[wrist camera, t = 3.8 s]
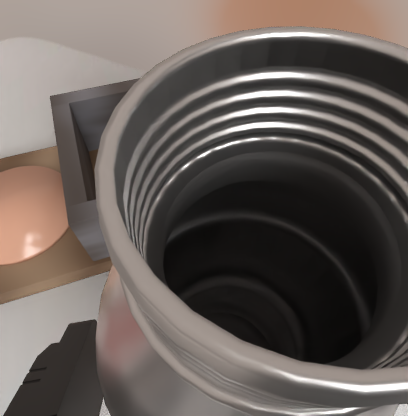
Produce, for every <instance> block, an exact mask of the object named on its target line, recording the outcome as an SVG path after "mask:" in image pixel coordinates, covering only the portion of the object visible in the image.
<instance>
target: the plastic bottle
mask: <svg viewBox="0 0 408 416" xmlns="http://www.w3.org/2000/svg"><path fill="white" fill-rule="evenodd" d="M94 171H95V188H96V205H97V210H98V213H99V224H100V227H101V230H102V233H103V236H104V239H105V243H106V246H107V249H108V252H109V255H110V258H111V261H112V264H113V265H112V267H111V269H110V272H109V275H108V278H107V281H106V284H105V287H104V290H103V292H102V295H101V301H100V308H99V315H98V322H97V329H96V338H95V339H96V361H97V373H98V377H99V381H100V385H101V389H102V393H103V397H104V401H105V405H106V407H107V409H108V411H109V413H110V415H111V416H394V414H395V412H396V410H397V408H398V406H399V404H407V403H408V48H405V47H403V46H400V45H398V44H395V43H391V42H388V41H384V40H381V39H377V38H374V37H371V36H367V35H362V34H357V33H352V32H347V31H341V30H336V29H327V28H314V27H302V26H300V27H299V26H298V27H267V28H259V29H251V30H245V31H238V32H234V33H230V34H226V35H222V36H218V37H214V38H211V39H208V40H205V41H203V42H200V43H198V44H195V45H193V46H190V47H188V48H185V49H183V50H181V51H180V52H178V53H176V54H174V55H173V56H171V57H169V58H167V59H166V60H164V61H162V62H161V63H159V64H157V65H156V66H155V67H153V68H152V69H151V70H150V71H149V72H147V73H146V74H145V75H144V76H143V77H142V78H140V79H139V80H138V81H137V82H136V83H134V84H133V86H132V87H131V88H130V89H129V91H128V92H127V93H126V94H125V96H124V97H123V98H122V99H121V101H120V102H119V103H118V104H117V106H116V107H115V109H114V111H113V113H112V115H111V117H110V119H109V121H108V123H107V125H106V127H105V129H104V131H103V133H102V136H101V140H100V144H99V149H98V154H97V159H96V164H95V169H94Z"/></svg>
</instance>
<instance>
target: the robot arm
mask: <svg viewBox="0 0 408 416" xmlns="http://www.w3.org/2000/svg"><path fill="white" fill-rule="evenodd" d="M96 329H97V321H96V320H89V321H83V322H76V323H71V324H69V325H68V327H67V329H66V331H65V333H64V335H63V337H62V339H61V341H60V342H59V343H53V344H51V345H49V346H48V347H47V348H46V349H45V350H44V351H43V352H42V353H41V354H40V355H38V356H37V358H36V360H35V362H34V363H33V365H32V367H31V368H30V370H29V371H30V372H29V373H28V374H27V375H26V377H25V379H24V381H23V385H21V386H20V387H19V389H18V391H17V393H16V394H15V396H14V398H13V400H12V401H11V403H10V405H9V406H8V408H7V410H6V412H5V413H4V415H3V416H99V413H100V409H101V405H102V400H103V393H102V389H101V385H100V381H99V377H98V373H97V361H96V339H95V338H96ZM407 404H408V403H407Z"/></svg>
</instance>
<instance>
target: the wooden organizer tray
mask: <svg viewBox="0 0 408 416" xmlns="http://www.w3.org/2000/svg"><path fill="white" fill-rule="evenodd" d="M139 79H140V78H139ZM139 79H134V80H129V81H124V82H119V83H114V84H109V85H104V86H99V87H94V88H89V89H84V90H79V91H74V92H69V93H64V94H59V95H54V96H50V100H51V107H52V114H53V121H54V128H55V135H56V142H57V146H54V147H50V148H45V149H41V150H37V151H32V152H28V153H24V154H19V155H15V156H10V157H6V158H2V159H0V172H3V171H5V170H8V169H12V168H16V167H21V166H42V167H47V168H50V169H53V170H55V171H57V172H59V173H61V177H62V184H63V191H64V198H65V205H66V212H67V219H68V225H69V226H70V227H69V229H68V230H67V232H66V233H65V234H64V236H63V237H62V238H61V239H60V240H59V241H58V242H57V243H56V244H55V245H53V246H52V247H51V248H49V249H48V250H47V251H45V252H44V253H42V254H40V255H38V256H37V257H34V258H32V259H30V260H27V261H24V262H21V263H17V264H13V265H5V266H0V304H3V303H7V302H10V301H13V300H16V299H19V298H23V297H26V296H29V295H32V294H36V293H39V292H42V291H45V290H49V289H52V288H55V287H58V286H61V285H65V284H68V283H71V282H74V281H78V280H81V279H84V278H87V277H91V276H94V275H97V274H100V273H103V272H107V271H110V269H111V267H112V265H113V264H112V261H111V258H110V255H109V252H108V249H107V246H106V243H105V239H104V236H103V233H102V230H101V227H100V224H99V213H98V210H97V205H96V188H95V171H94V169H95V164H96V159H97V154H98V149H99V144H100V140H101V136H102V133H103V131H104V129H105V127H106V125H107V123H108V121H109V119H110V117H111V115H112V113H113V111H114V109H115V107H116V106H117V104H118V103H119V102H120V101H121V99H122V98H123V97H124V96H125V94H126V93H127V92H128V91H129V89H130V88H131V87H132V86H133V84H134V83H136V82H137V81H138V80H139Z"/></svg>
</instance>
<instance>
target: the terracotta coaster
mask: <svg viewBox="0 0 408 416" xmlns="http://www.w3.org/2000/svg"><path fill="white" fill-rule="evenodd" d="M69 227H70V226H69V225H68V219H67V212H66V205H65V198H64V191H63V184H62V177H61V173H59V172H57V171H55V170H53V169H50V168H47V167H42V166H21V167H16V168H12V169H8V170H5V171H3V172H0V266H5V265H13V264H17V263H21V262H24V261H27V260H30V259H32V258H34V257H37V256H38V255H40V254H42V253H44V252H45V251H47V250H48V249H49V248H51V247H52V246H53V245H55V244H56V243H57V242H58V241H59V240H60V239H61V238H62V237H63V236H64V234H65V233H66V232H67V230H68V229H69Z"/></svg>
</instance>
